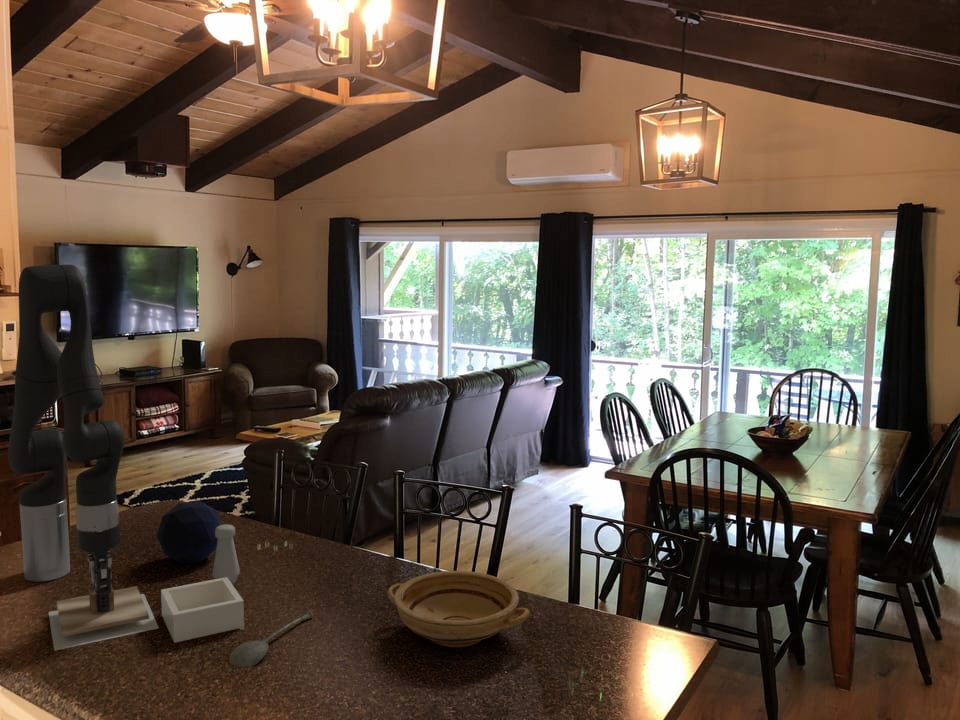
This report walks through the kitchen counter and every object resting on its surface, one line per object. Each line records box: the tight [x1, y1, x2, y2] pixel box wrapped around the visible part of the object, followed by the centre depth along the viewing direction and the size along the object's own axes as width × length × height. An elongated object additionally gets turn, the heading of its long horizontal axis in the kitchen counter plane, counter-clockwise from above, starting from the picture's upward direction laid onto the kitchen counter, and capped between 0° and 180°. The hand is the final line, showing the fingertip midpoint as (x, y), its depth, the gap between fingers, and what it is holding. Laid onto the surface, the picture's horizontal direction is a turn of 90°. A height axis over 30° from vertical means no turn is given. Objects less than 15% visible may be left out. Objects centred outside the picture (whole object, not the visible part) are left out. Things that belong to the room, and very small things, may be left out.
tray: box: [48, 593, 160, 652], centre depth 159 cm, size 18×18×1 cm
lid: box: [56, 584, 149, 637], centre depth 159 cm, size 15×15×5 cm
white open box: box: [160, 577, 245, 644], centre depth 159 cm, size 13×13×6 cm
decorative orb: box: [156, 500, 223, 564], centre depth 190 cm, size 14×15×15 cm
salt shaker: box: [212, 524, 241, 585], centre depth 178 cm, size 6×6×13 cm
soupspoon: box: [228, 611, 314, 669], centre depth 153 cm, size 22×3×7 cm
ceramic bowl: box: [386, 570, 531, 648], centre depth 156 cm, size 30×24×8 cm
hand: (101, 605), depth 159 cm, fingers closed on lid, 4 cm apart
